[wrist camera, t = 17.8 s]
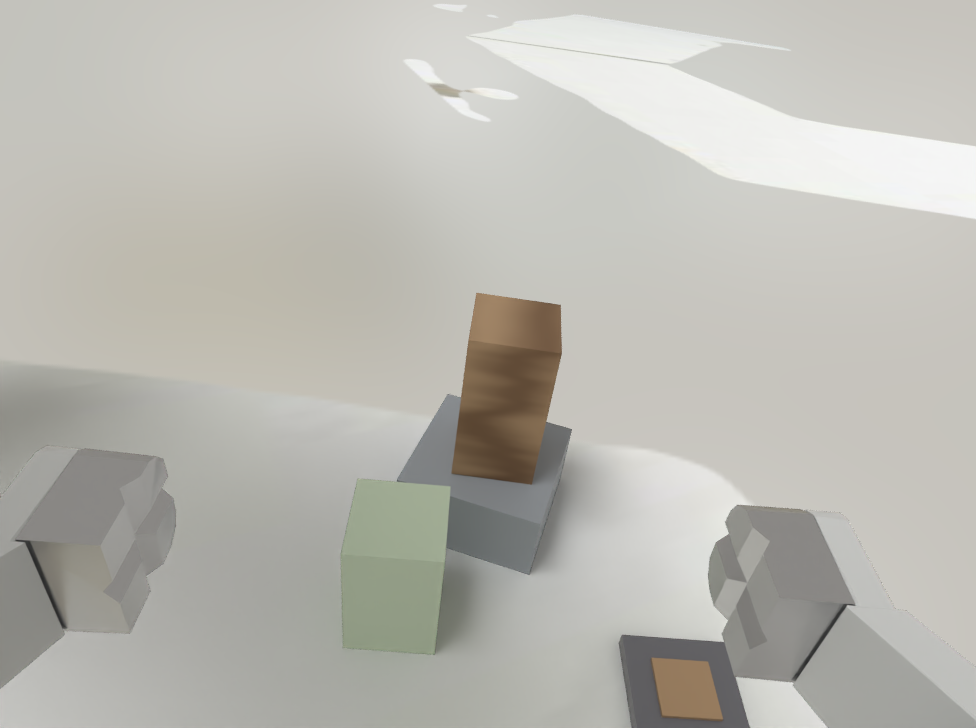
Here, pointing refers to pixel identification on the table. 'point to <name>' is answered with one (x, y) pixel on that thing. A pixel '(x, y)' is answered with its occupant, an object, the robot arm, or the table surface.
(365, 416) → the table surface
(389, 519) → the sage green block
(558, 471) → the slate base block
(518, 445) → the walnut block
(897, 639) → the robot arm
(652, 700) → the card
